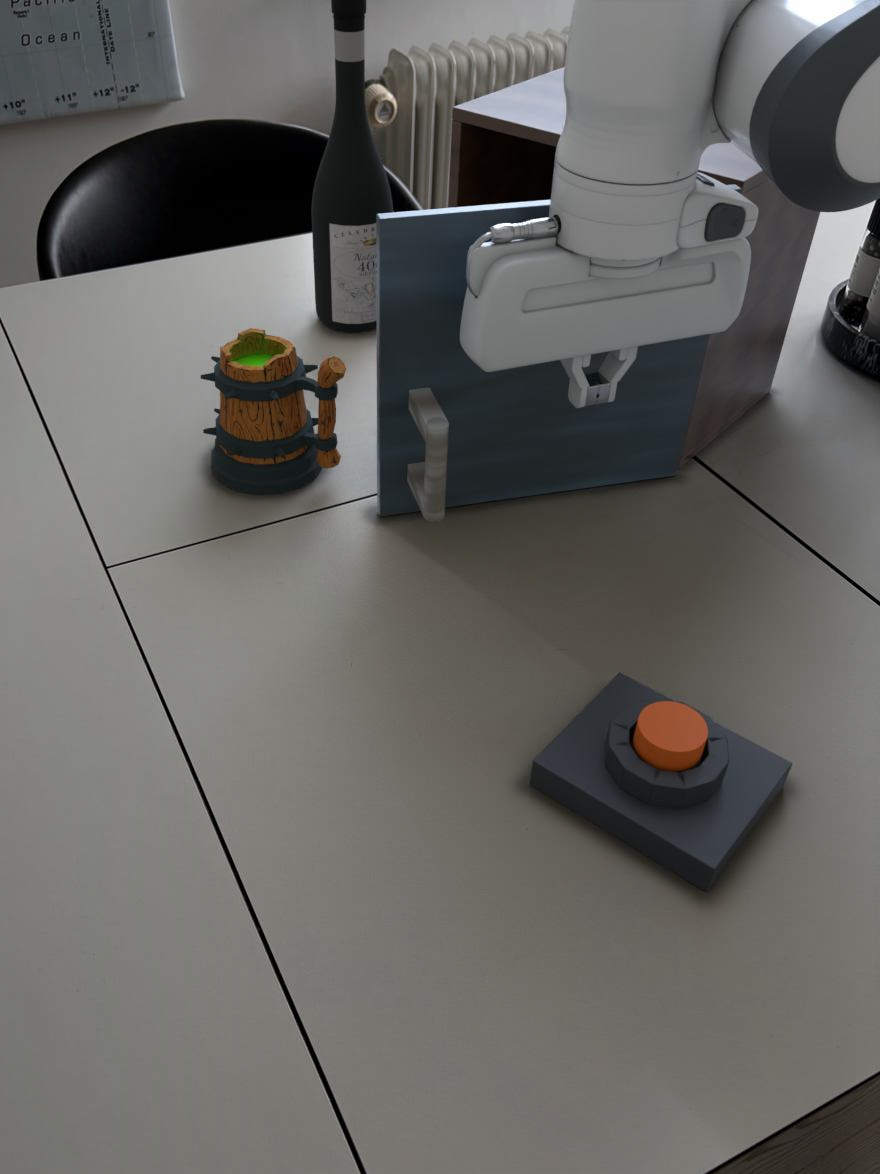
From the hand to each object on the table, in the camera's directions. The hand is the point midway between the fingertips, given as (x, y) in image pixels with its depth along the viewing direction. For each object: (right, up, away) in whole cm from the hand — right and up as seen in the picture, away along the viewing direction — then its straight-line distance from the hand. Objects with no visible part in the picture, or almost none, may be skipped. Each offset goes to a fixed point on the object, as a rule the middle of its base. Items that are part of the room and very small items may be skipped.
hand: (590, 401), depth 76 cm
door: (-2, -7, +9) cm, 11 cm away
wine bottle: (-19, +16, +34) cm, 42 cm away
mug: (-24, -3, +13) cm, 28 cm away
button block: (+2, -26, -12) cm, 29 cm away
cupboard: (+6, +8, +25) cm, 27 cm away
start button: (+2, -24, -15) cm, 28 cm away
